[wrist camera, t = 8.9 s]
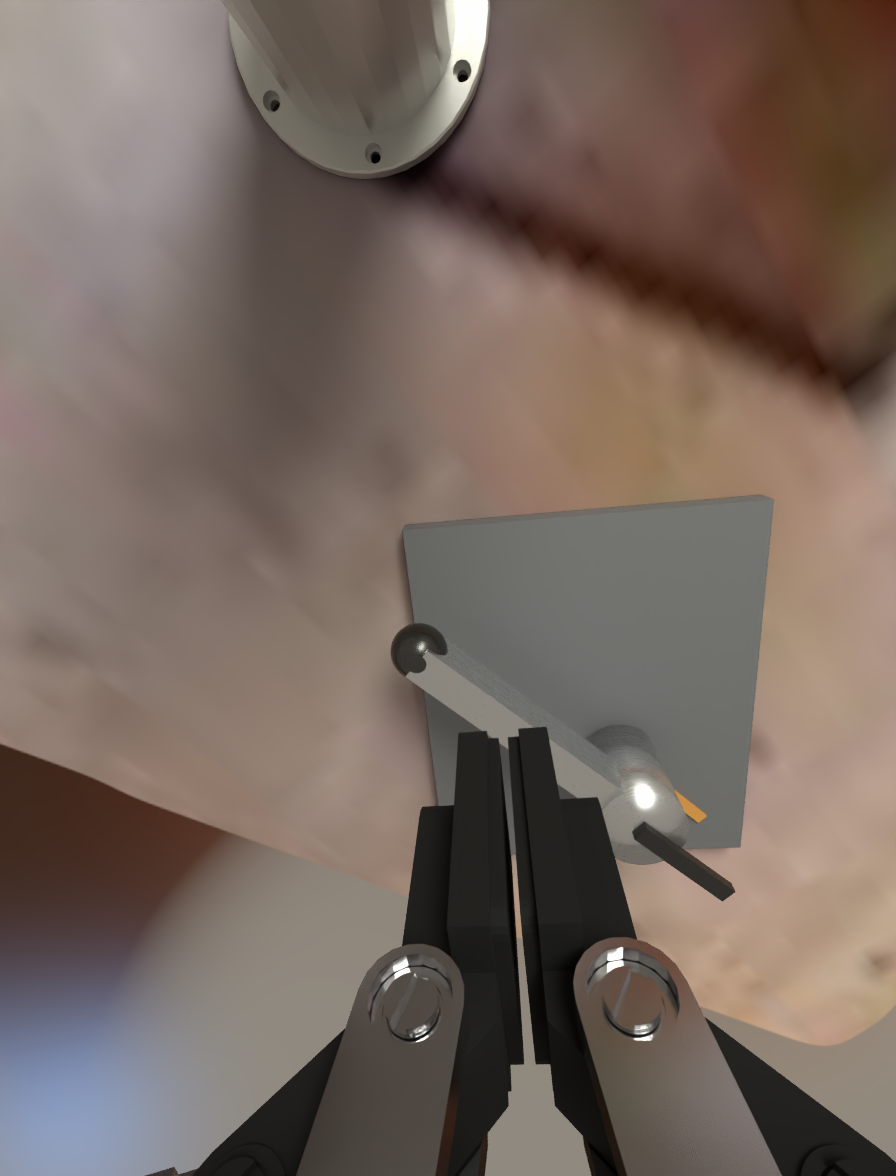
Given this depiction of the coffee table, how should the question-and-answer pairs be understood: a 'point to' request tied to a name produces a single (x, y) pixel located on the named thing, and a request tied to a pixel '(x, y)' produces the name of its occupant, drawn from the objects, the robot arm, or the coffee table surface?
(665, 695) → the stand plate
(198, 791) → the coffee table surface
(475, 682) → the bar with ball ends
